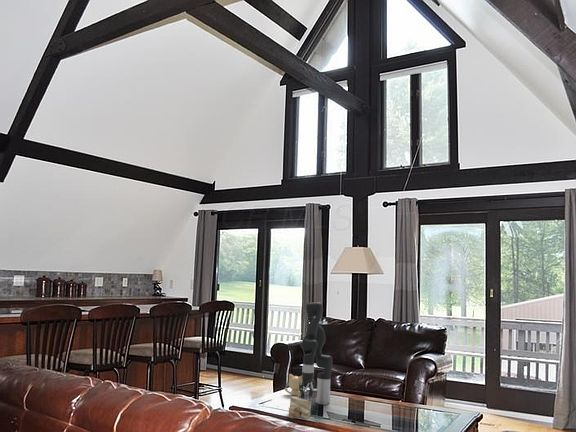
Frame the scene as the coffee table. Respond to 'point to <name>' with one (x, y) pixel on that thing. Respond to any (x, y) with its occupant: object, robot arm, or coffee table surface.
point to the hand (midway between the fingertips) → (306, 397)
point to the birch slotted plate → (301, 406)
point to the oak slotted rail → (294, 412)
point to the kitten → (294, 384)
